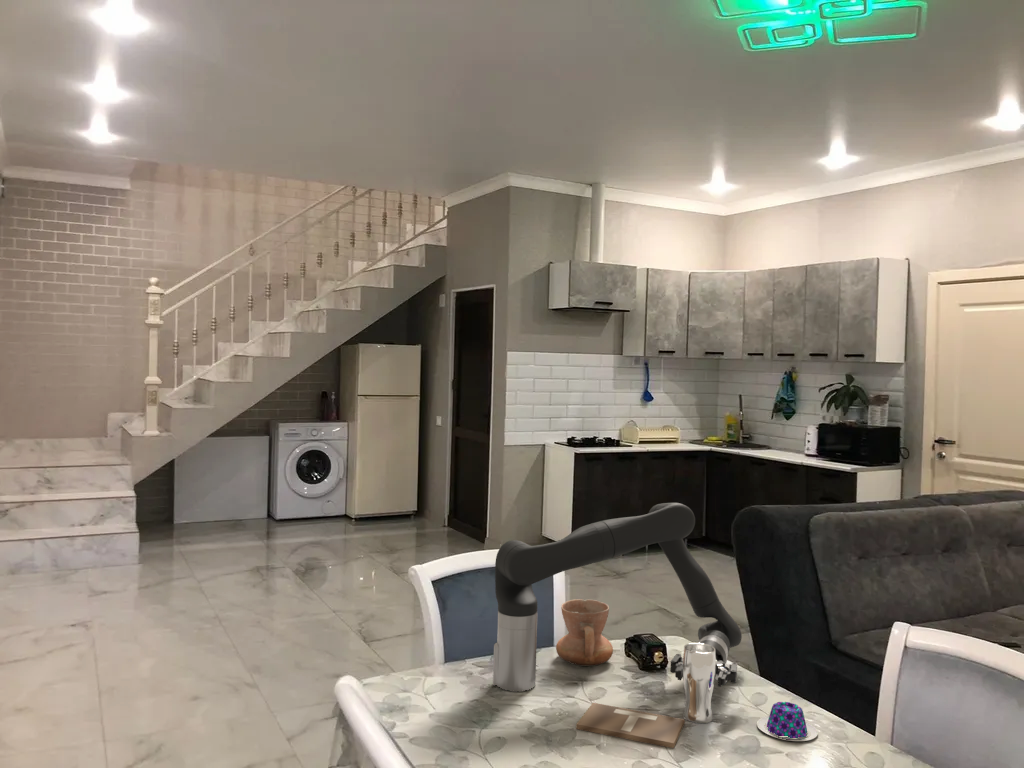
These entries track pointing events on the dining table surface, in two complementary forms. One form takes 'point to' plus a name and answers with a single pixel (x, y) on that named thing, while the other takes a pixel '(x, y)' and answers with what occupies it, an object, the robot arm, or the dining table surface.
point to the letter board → (631, 724)
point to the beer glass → (698, 681)
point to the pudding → (787, 722)
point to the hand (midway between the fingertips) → (699, 679)
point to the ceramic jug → (584, 633)
